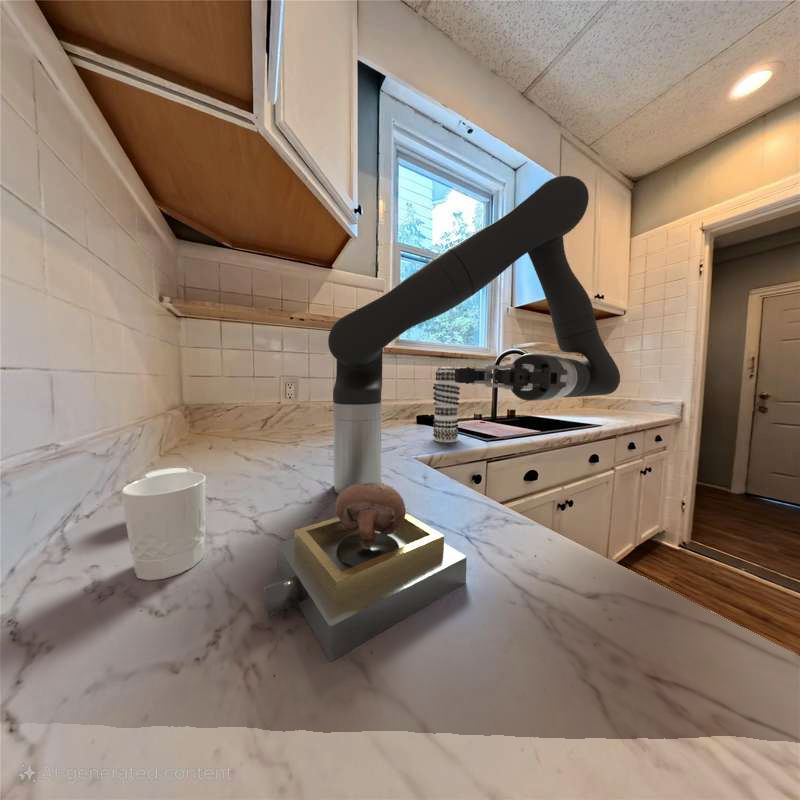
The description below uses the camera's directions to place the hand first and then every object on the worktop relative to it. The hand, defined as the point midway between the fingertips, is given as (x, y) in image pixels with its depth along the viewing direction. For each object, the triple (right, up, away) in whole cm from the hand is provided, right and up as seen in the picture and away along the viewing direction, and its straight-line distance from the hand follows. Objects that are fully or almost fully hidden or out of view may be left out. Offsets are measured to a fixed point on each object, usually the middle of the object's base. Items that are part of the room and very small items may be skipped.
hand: (479, 376), depth 42 cm
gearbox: (-16, -23, -7) cm, 29 cm away
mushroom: (-14, -20, -7) cm, 26 cm away
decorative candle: (+5, -17, +66) cm, 68 cm away
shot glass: (-48, -22, +8) cm, 53 cm away
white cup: (-38, -23, -5) cm, 45 cm away
